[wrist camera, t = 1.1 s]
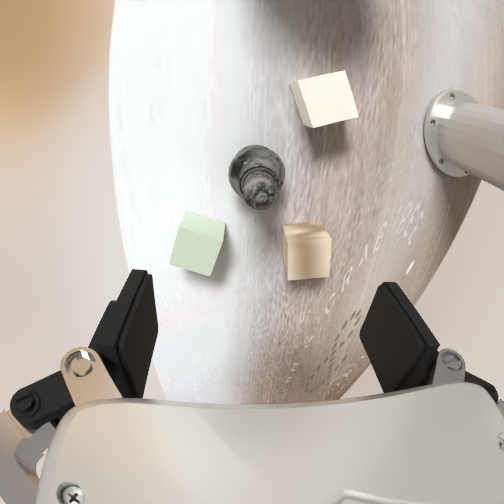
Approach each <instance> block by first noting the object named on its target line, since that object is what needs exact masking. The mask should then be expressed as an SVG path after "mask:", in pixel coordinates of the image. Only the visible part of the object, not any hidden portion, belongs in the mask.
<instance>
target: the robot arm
mask: <svg viewBox="0 0 504 504" xmlns="http://www.w3.org/2000/svg"><path fill="white" fill-rule="evenodd" d="M424 137H425V143H426V148H427V151H428V153H429V156H430V158H431V159H432V161H433V163H434V164H435V165H436V166H437V168H438V169H440V170H441V171H442V172H444V173H446V174H447V175H449V176H453V177H464V176H467V175H469V174H472V175H474V176H476V177H478V178H480V179H482V180H484V181H486V182H488V183H490V184H492V185H494V186H495V187H497V188H499V189H501V190H503V191H504V109H501V108H496V107H491V106H486V105H481V104H478V103H477V102H476V101H475V99H474V98H473V97H471V96H470V95H469V94H467V93H465V92H463V91H459V90H447V91H443V92H441V93H440V94H438V95H437V96H436V97H435V98H434V99H433V101H432V102H431V104H430V106H429V108H428V110H427V113H426V117H425V122H424ZM157 335H158V321H157V314H156V306H155V298H154V289H153V279H152V275H151V274H148V273H147V271H146V270H135V269H133V270H132V271H131V273H130V275H129V277H128V279H127V281H126V283H125V285H124V287H123V289H122V291H121V293H120V295H119V297H118V299H117V301H111V302H110V303H109V305H108V306H107V308H106V311H105V312H104V314H103V317H102V319H101V321H100V323H99V325H98V327H97V329H96V331H95V334H94V336H93V338H92V340H91V342H90V345H89V347H88V348H86V347H79V348H75V349H72V350H70V351H69V352H67V354H65V356H64V357H63V359H62V360H61V365H60V366H61V370H60V371H58V372H56V373H54V374H52V375H50V376H48V377H46V378H44V379H41V380H39V381H37V382H35V383H33V384H31V385H28V386H26V387H24V388H22V389H20V390H18V391H17V392H16V393H15V394H14V395H13V397H12V399H11V402H10V410H8V411H7V412H6V411H5V410H3V411H2V412H1V413H0V496H1V497H2V499H3V500H4V501H5V503H6V504H504V401H502V400H501V399H500V400H499V401H498V394H497V391H496V389H495V387H494V386H493V385H491V384H490V383H488V382H486V381H484V380H482V379H480V378H478V377H476V376H474V375H472V374H470V373H468V372H466V371H465V362H464V360H463V358H462V357H461V355H459V354H458V353H457V352H456V351H454V350H451V349H442V350H441V351H440V352H438V350H437V349H438V347H439V346H440V344H439V343H438V341H437V340H436V338H435V337H434V335H433V334H432V332H431V331H430V329H429V328H428V326H427V325H426V323H425V322H424V320H423V319H422V317H421V316H420V315H419V313H418V312H417V310H416V309H415V307H414V306H413V305H412V303H411V302H410V301H409V299H408V298H407V296H406V295H405V294H404V292H403V291H402V290H401V288H400V287H399V286H398V284H397V283H395V282H383V283H382V284H381V285H380V286H379V287H378V289H377V291H376V294H375V296H374V299H373V301H372V304H371V306H370V309H369V311H368V314H367V316H366V318H365V321H364V323H363V325H362V328H361V330H360V339H361V342H362V344H363V346H364V348H365V350H366V353H367V355H368V357H369V359H370V362H371V364H372V366H373V369H374V371H375V373H376V376H377V378H378V380H379V383H380V385H381V387H382V390H383V392H384V393H383V394H377V395H370V396H363V397H356V398H348V399H339V400H330V401H319V402H306V403H288V404H212V403H193V402H179V401H167V400H154V399H142V397H143V394H144V388H145V384H146V380H147V375H148V371H149V367H150V363H151V359H152V354H153V350H154V346H155V342H156V338H157ZM47 448H48V451H47V454H46V457H45V461H44V465H43V468H42V473H41V477H40V479H39V478H38V476H37V474H36V464H37V462H38V461H39V459H40V458H41V457H42V456H43V455H44V454H43V451H45V450H46V449H47Z"/></svg>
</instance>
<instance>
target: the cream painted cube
mask: <svg viewBox="0 0 504 504" xmlns="http://www.w3.org/2000/svg"><path fill="white" fill-rule="evenodd" d="M289 85H290V88H291V90H292V93H293V96H294V99H295V102H296V105H297V108H298V111H299V114H300V117H301V120H302V123H303V125H305V126H308V127H311V128H316V127H320V126H323V125H327V124H331V123H335V122H339V121H343V120H347V119H351V118H356V117H359V116H358V112H357V108H356V105H355V101H354V98H353V95H352V91H351V88H350V85H349V81H348V78H347V75H346V72H345V70H344V71H339V72H334V73H329V74H324V75H320V76H315V77H311V78H306V79H302V80H298V81H296V82H293V83H291V84H289Z"/></svg>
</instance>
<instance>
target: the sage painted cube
mask: <svg viewBox="0 0 504 504" xmlns="http://www.w3.org/2000/svg"><path fill="white" fill-rule="evenodd" d="M224 231H225V222H223V221H219V220H216V219H213V218H210V217H207V216H204V215H201V214H198V213H194V212H191V211H188V210H187V211H186V213H185V215H184V218H183V220H182V222H181V224H180V226H179V230H178V233H177V237H176V240H175V244H174V248H173V252H172V255H171V259H170V263H169V264H170V265H173V266H176V267H180V268H183V269H186V270H189V271H193V272H196V273H199V274H203V275H206V276H209V277H210V276H211V273H212V270H213V268H214V265H215V262H216V259H217V257H218V254H219V251H220V248H221V246H222V243H223V240H224Z"/></svg>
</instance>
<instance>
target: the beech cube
mask: <svg viewBox="0 0 504 504" xmlns="http://www.w3.org/2000/svg"><path fill="white" fill-rule="evenodd" d="M282 234H283V261H284V265H285V269H286V273H287V277H288V281H290V280H300V279H311V278H321V277H329V270H330V257H331V242H332V240H331V238H330V236H329V235H328V233H327V231H326V230H325V228H324V226H323V225H322V223H321V222H318V223H303V224H289V225H282Z"/></svg>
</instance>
